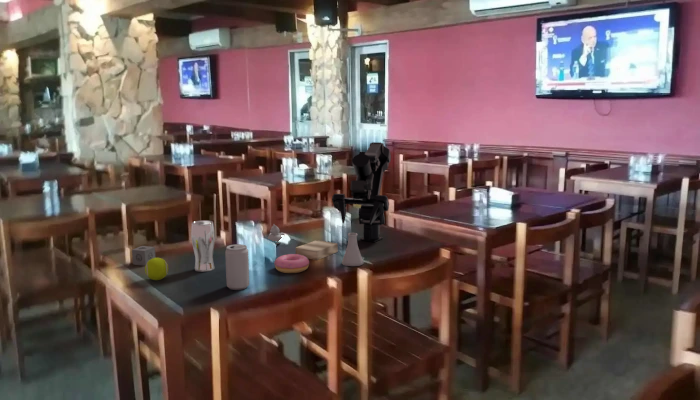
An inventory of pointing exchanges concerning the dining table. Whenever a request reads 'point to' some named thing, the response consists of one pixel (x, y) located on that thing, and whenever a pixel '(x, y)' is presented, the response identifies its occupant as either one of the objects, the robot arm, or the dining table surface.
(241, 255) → the beverage can
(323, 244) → the foundation block
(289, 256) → the doughnut
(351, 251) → the flask
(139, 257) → the dice cube
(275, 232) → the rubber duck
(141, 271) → the dining table surface
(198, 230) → the beer glass
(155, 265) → the tennis ball
